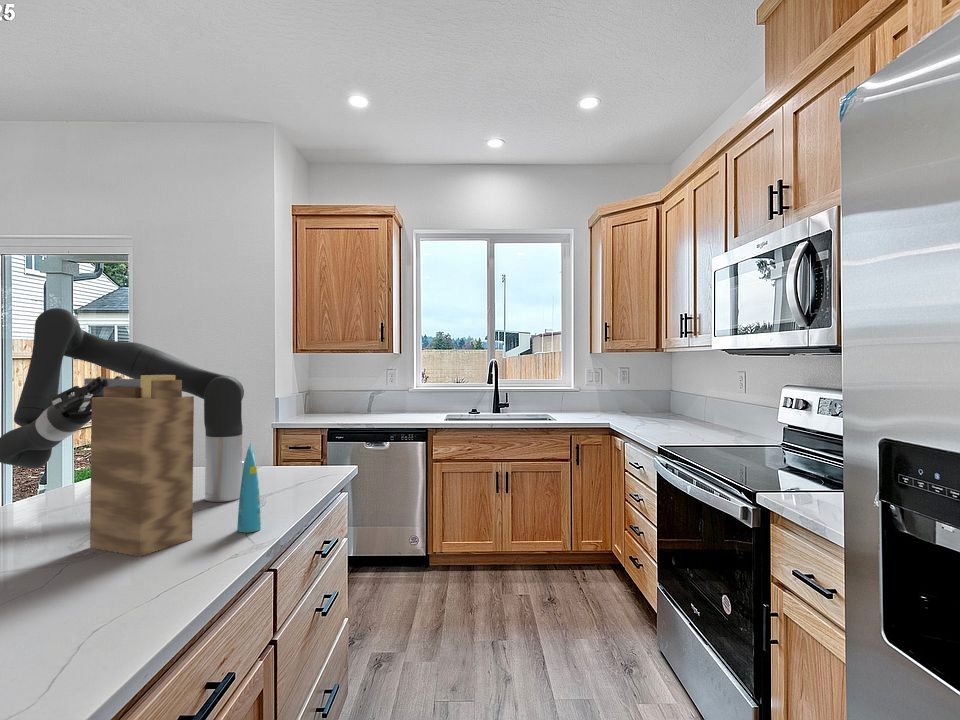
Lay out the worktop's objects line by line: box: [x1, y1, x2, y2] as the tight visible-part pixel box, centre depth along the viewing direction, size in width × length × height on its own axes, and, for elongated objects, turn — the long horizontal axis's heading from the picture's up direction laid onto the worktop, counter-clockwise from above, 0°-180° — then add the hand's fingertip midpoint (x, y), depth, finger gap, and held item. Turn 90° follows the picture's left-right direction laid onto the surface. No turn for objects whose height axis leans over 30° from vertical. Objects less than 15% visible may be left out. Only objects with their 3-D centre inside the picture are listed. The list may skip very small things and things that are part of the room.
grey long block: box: [83, 375, 175, 398], centre depth 120 cm, size 6×21×4 cm, turn 68°
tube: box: [236, 441, 262, 533], centre depth 129 cm, size 7×5×19 cm, turn 26°
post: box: [89, 380, 195, 557], centre depth 119 cm, size 12×14×34 cm
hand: (111, 380), depth 122 cm, fingers closed on grey long block, 3 cm apart
